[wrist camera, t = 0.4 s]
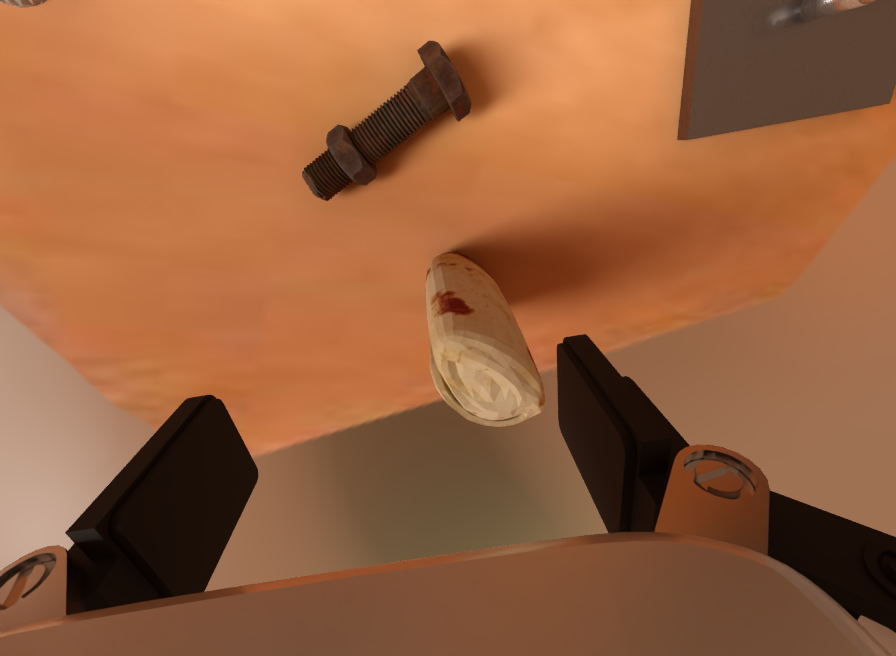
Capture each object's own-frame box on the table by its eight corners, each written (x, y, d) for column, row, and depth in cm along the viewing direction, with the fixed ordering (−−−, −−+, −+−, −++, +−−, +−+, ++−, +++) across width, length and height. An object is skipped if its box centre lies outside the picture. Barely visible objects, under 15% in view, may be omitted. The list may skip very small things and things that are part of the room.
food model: (513, 289, 41) (583, 405, 23) (468, 329, 43) (501, 465, 25) (450, 225, 38) (475, 303, 20) (404, 271, 40) (390, 381, 22)
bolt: (318, 175, 37) (447, 71, 33) (343, 218, 36) (477, 118, 33) (277, 150, 31) (427, 22, 28) (306, 201, 31) (462, 78, 27)
